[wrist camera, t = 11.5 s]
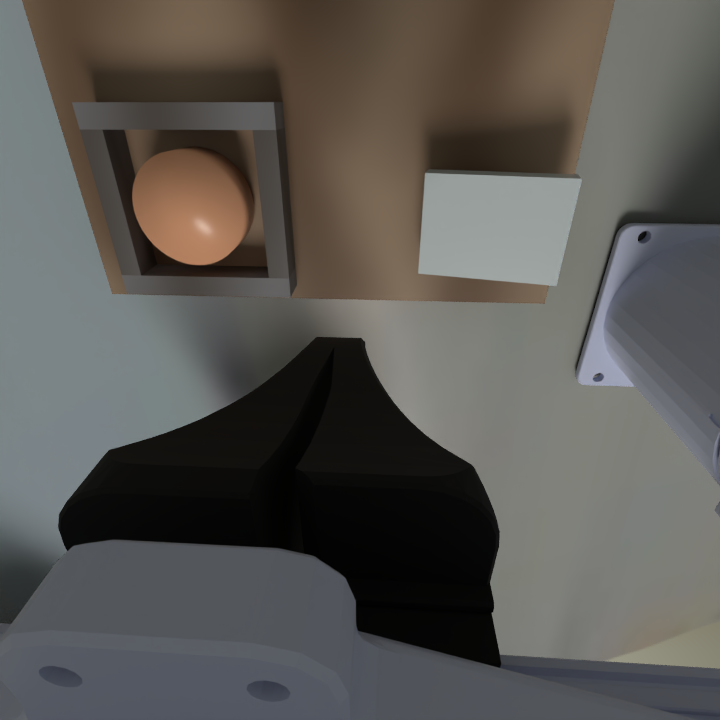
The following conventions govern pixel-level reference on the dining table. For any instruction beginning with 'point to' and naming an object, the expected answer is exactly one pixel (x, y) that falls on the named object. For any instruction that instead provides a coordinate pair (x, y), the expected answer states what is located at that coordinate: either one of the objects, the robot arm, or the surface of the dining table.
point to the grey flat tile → (496, 224)
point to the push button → (193, 204)
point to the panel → (316, 126)
